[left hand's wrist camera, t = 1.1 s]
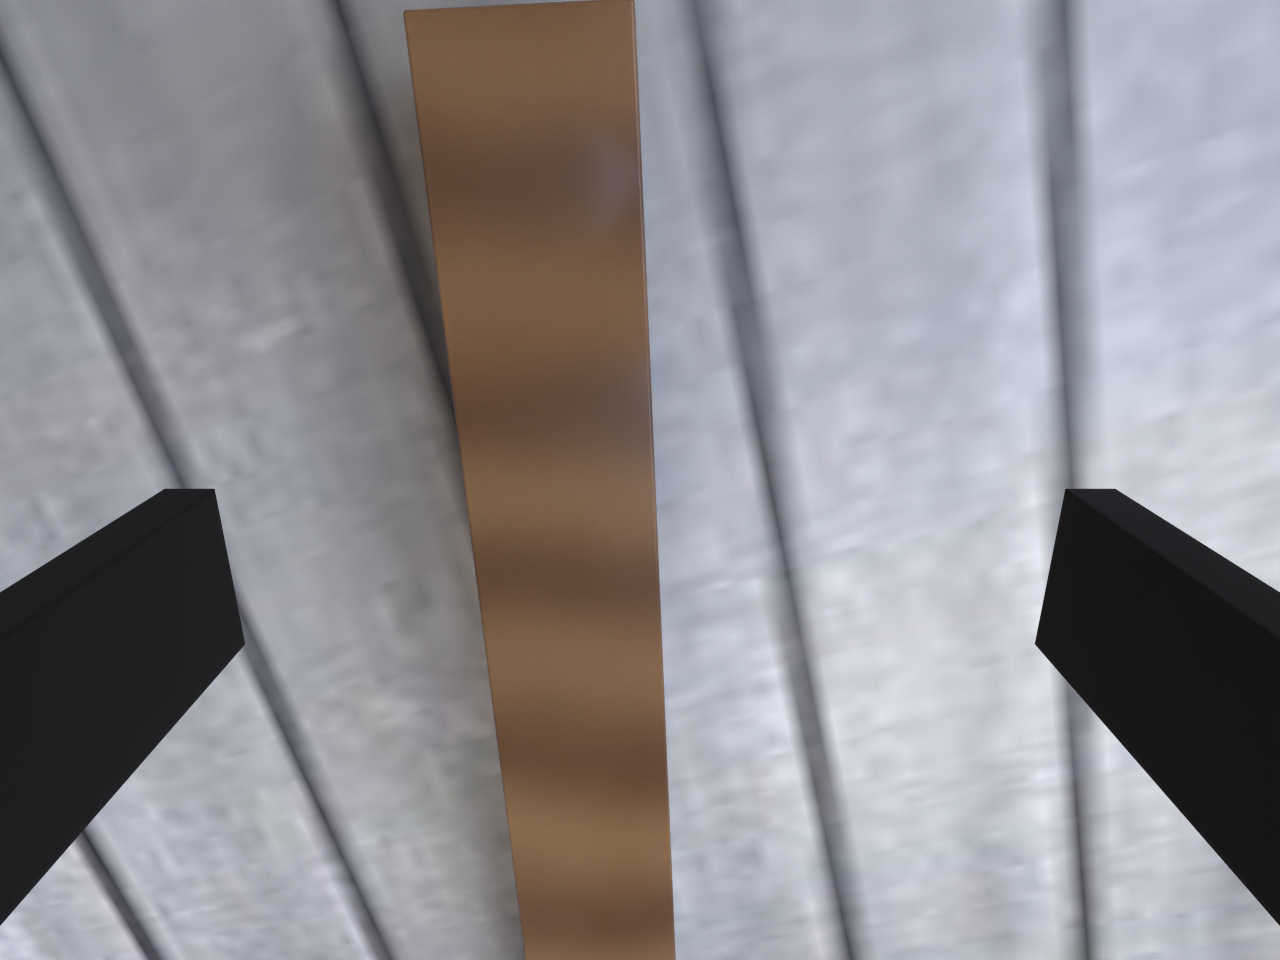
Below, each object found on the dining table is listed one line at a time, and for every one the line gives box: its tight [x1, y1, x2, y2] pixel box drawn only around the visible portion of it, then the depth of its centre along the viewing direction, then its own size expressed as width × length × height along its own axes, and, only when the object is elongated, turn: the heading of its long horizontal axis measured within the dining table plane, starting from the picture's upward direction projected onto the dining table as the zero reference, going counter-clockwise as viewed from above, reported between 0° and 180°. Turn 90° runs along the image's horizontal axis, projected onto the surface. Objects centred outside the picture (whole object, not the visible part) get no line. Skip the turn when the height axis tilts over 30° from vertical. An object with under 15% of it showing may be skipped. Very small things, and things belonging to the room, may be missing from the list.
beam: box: [403, 0, 676, 960], centre depth 31 cm, size 61×5×8 cm, turn 3°
